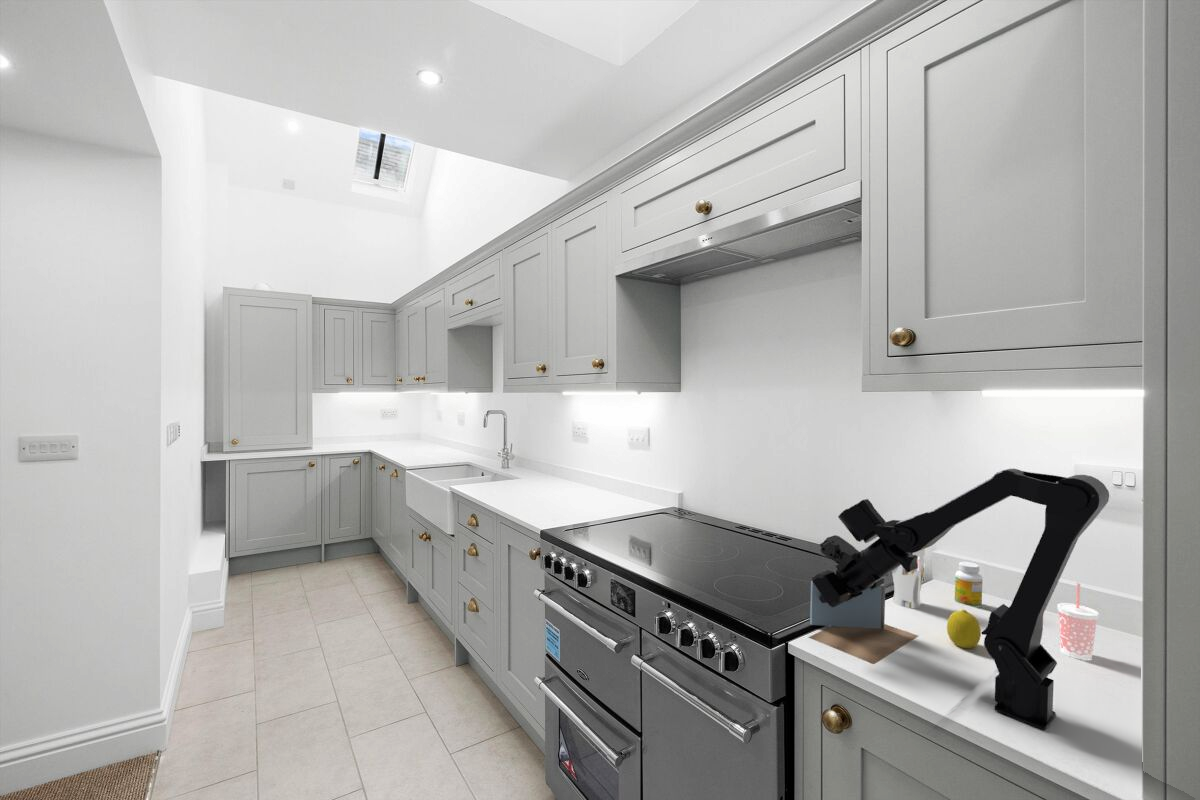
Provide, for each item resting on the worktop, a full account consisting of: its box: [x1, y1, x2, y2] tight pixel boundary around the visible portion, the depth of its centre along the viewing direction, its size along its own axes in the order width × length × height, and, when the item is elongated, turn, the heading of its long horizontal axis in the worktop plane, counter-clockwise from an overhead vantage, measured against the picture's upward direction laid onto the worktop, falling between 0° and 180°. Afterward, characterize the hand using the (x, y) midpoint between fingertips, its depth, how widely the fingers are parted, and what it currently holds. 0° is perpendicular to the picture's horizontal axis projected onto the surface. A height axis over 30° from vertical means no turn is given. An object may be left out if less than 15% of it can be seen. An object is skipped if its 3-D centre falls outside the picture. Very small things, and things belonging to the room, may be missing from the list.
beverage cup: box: [1056, 582, 1100, 661], centre depth 106 cm, size 6×6×14 cm
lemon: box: [946, 609, 982, 649], centre depth 107 cm, size 6×6×8 cm
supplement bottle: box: [954, 561, 983, 609], centre depth 130 cm, size 5×5×10 cm
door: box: [809, 580, 886, 629], centre depth 115 cm, size 2×15×9 cm, turn 85°
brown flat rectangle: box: [808, 623, 919, 665], centre depth 110 cm, size 13×19×1 cm
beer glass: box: [891, 548, 926, 609], centre depth 128 cm, size 7×7×15 cm
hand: (821, 600), depth 114 cm, fingers closed
